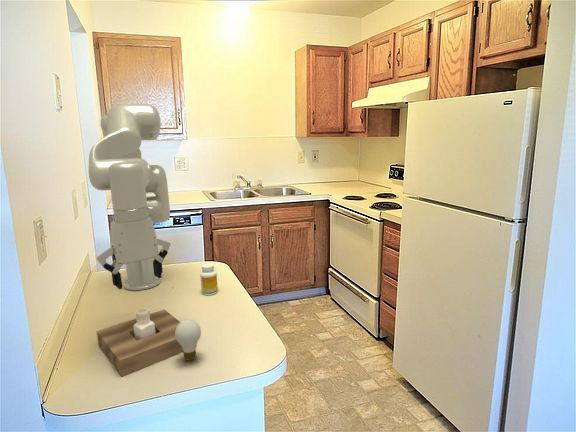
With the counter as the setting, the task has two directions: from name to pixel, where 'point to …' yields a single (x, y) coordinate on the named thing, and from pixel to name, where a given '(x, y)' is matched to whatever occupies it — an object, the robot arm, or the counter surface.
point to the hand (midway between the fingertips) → (139, 281)
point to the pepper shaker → (143, 325)
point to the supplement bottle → (208, 280)
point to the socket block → (140, 343)
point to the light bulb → (188, 337)
